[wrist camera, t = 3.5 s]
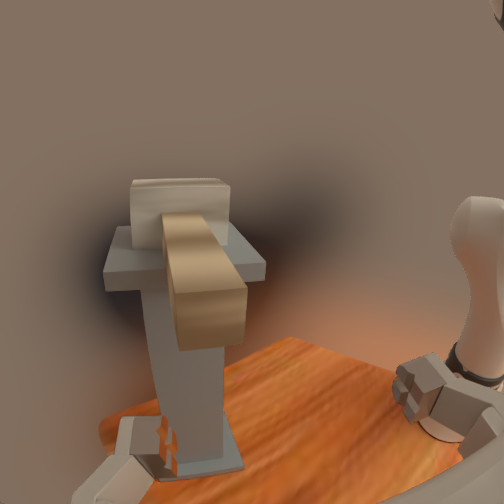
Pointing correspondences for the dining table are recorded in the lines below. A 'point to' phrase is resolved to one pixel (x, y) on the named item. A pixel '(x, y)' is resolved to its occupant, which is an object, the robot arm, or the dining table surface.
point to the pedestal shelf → (183, 356)
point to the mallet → (192, 257)
